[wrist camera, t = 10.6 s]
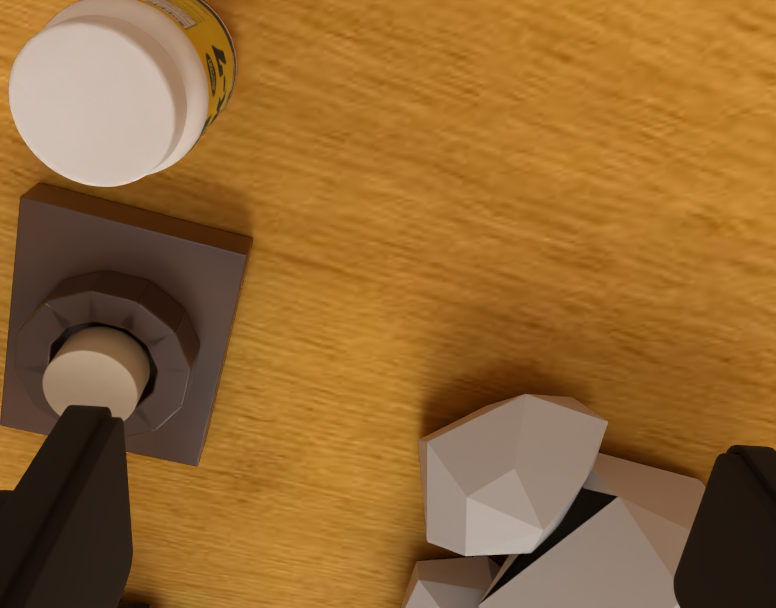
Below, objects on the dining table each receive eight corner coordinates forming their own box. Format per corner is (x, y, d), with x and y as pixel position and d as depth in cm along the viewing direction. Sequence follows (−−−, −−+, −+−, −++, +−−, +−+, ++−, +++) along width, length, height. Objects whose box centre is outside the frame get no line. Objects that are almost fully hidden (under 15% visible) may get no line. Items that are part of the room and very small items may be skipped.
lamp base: (38, 181, 27) (-3, 213, 24) (253, 238, 28) (241, 275, 25) (16, 402, 31) (-22, 453, 28) (205, 442, 33) (189, 496, 29)
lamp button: (65, 316, 26) (46, 340, 25) (156, 337, 27) (144, 363, 25) (56, 390, 27) (38, 417, 26) (143, 409, 28) (130, 437, 26)
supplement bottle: (214, 149, 27) (157, 232, 19) (83, 96, 26) (-30, 161, 18) (259, 20, 25) (216, 56, 17) (120, -43, 24) (11, -34, 16)
